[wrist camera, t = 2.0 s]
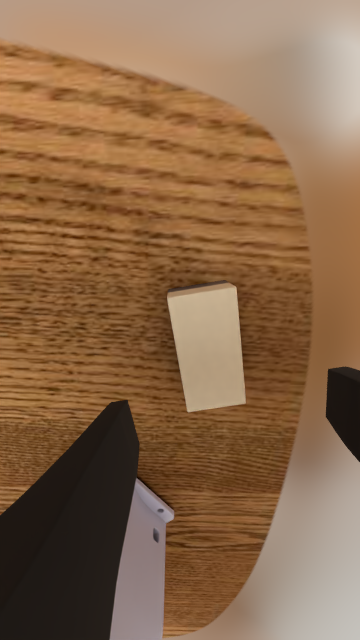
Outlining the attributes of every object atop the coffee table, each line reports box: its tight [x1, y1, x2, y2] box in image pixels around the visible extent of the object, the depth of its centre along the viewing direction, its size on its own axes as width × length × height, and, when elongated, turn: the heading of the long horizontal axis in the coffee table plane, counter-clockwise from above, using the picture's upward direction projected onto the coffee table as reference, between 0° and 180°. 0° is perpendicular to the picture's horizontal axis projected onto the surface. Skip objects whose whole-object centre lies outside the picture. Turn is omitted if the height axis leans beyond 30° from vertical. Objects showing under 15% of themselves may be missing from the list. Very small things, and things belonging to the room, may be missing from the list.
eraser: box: [167, 280, 246, 412], centre depth 13 cm, size 7×4×2 cm, turn 9°
